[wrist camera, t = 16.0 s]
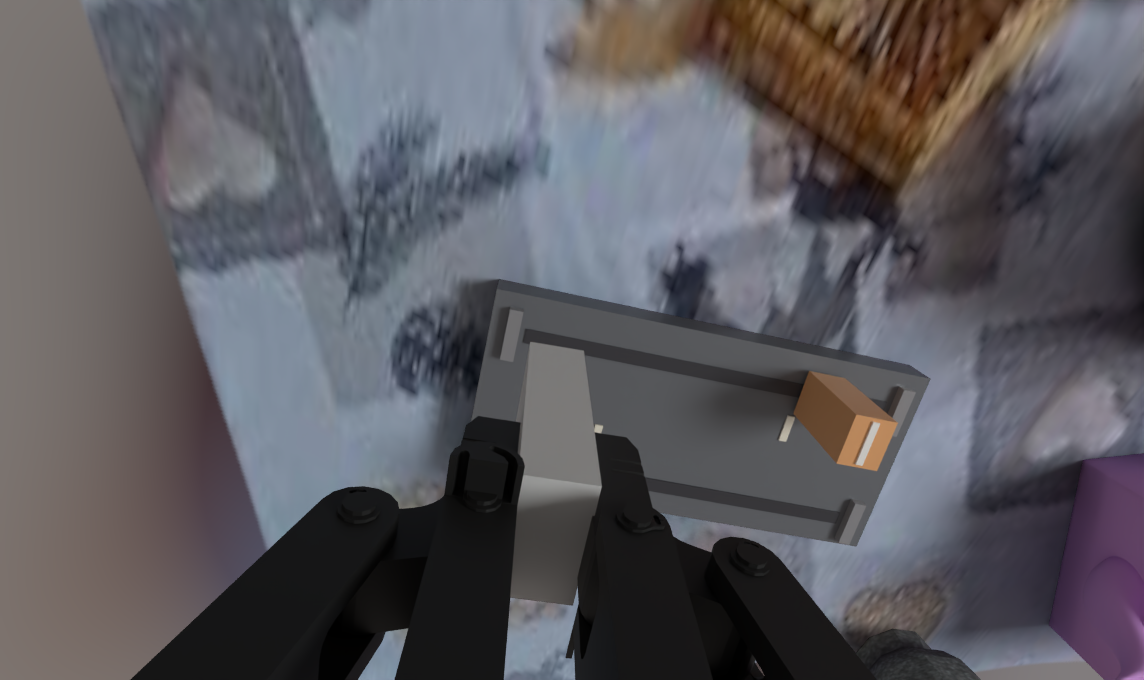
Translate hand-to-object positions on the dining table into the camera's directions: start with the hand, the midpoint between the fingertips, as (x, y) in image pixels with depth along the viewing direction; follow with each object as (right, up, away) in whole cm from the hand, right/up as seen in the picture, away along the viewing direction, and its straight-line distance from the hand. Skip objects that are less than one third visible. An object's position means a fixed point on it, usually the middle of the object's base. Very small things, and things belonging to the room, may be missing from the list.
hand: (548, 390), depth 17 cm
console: (+8, -4, +25) cm, 27 cm away
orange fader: (+16, -2, +22) cm, 27 cm away
